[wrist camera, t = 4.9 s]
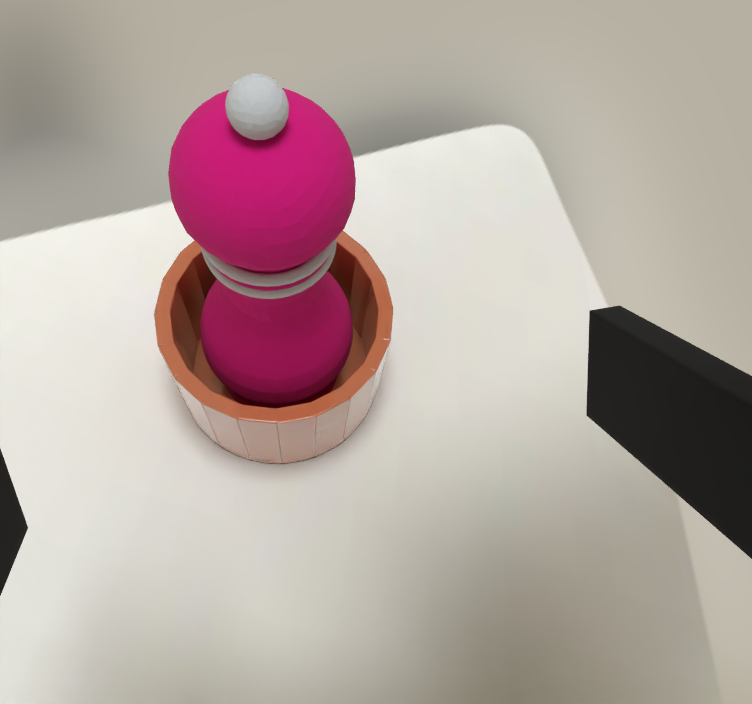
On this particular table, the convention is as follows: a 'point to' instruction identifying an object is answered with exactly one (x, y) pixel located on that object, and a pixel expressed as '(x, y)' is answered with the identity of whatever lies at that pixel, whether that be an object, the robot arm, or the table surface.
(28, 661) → the table surface
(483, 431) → the table surface
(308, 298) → the pepper mill
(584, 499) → the table surface
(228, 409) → the crock
